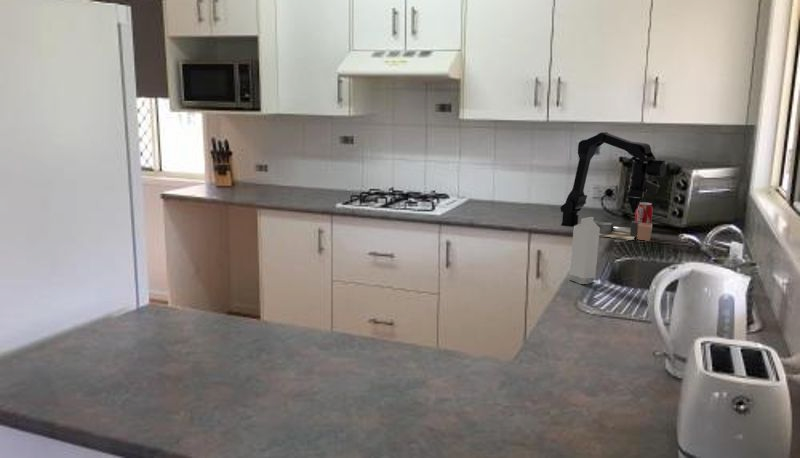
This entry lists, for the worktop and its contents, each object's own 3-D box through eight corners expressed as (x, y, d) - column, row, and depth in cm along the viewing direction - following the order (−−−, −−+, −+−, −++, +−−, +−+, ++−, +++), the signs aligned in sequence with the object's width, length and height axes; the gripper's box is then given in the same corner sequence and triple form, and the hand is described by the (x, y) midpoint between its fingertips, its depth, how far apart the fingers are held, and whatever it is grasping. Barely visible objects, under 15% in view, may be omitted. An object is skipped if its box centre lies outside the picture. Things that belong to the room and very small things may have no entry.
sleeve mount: (577, 234, 292) (578, 223, 291) (582, 229, 302) (583, 218, 301) (633, 241, 283) (634, 229, 282) (636, 235, 292) (637, 224, 291)
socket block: (636, 240, 284) (638, 225, 283) (638, 236, 290) (639, 222, 289) (649, 241, 282) (650, 226, 281) (650, 238, 288) (652, 223, 287)
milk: (594, 282, 226) (601, 218, 221) (582, 285, 223) (589, 220, 217) (580, 278, 231) (586, 214, 226) (568, 280, 227) (574, 216, 222)
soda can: (651, 231, 300) (654, 205, 297) (635, 230, 301) (637, 204, 298) (649, 228, 307) (652, 202, 304) (633, 227, 308) (635, 201, 305)
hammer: (602, 232, 291) (603, 219, 290) (603, 230, 294) (604, 218, 293) (646, 237, 284) (648, 224, 283) (647, 235, 287) (648, 222, 285)
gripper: (657, 178, 270) (653, 216, 274) (661, 172, 287) (657, 208, 291) (628, 176, 275) (624, 213, 279) (633, 170, 291) (630, 206, 295)
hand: (635, 210), depth 286 cm, fingers open, 9 cm apart
